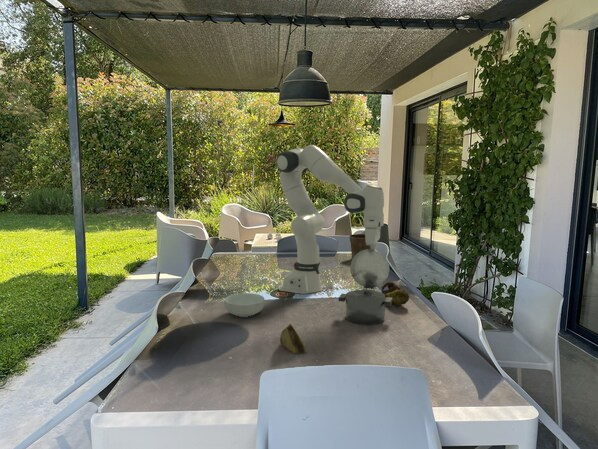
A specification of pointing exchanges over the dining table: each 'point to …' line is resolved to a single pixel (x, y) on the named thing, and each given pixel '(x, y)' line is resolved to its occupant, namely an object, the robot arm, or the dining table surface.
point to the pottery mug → (390, 287)
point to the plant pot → (358, 243)
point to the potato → (398, 297)
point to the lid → (369, 268)
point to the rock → (291, 340)
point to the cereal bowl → (244, 304)
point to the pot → (365, 306)
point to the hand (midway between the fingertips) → (373, 252)
